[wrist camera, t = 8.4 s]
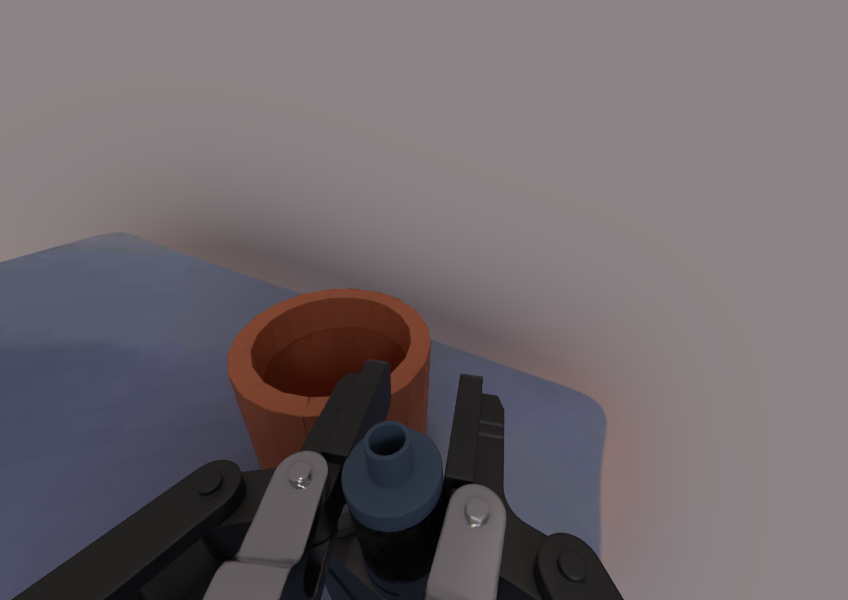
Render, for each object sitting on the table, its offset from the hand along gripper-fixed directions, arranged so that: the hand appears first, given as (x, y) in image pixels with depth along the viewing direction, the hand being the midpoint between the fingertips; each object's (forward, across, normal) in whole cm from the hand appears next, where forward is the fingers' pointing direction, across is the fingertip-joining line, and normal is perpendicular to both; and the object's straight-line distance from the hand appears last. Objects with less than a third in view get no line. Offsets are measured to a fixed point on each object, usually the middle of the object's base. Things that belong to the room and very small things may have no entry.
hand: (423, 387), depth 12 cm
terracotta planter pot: (+6, +6, +14) cm, 16 cm away
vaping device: (-3, 0, +10) cm, 11 cm away
